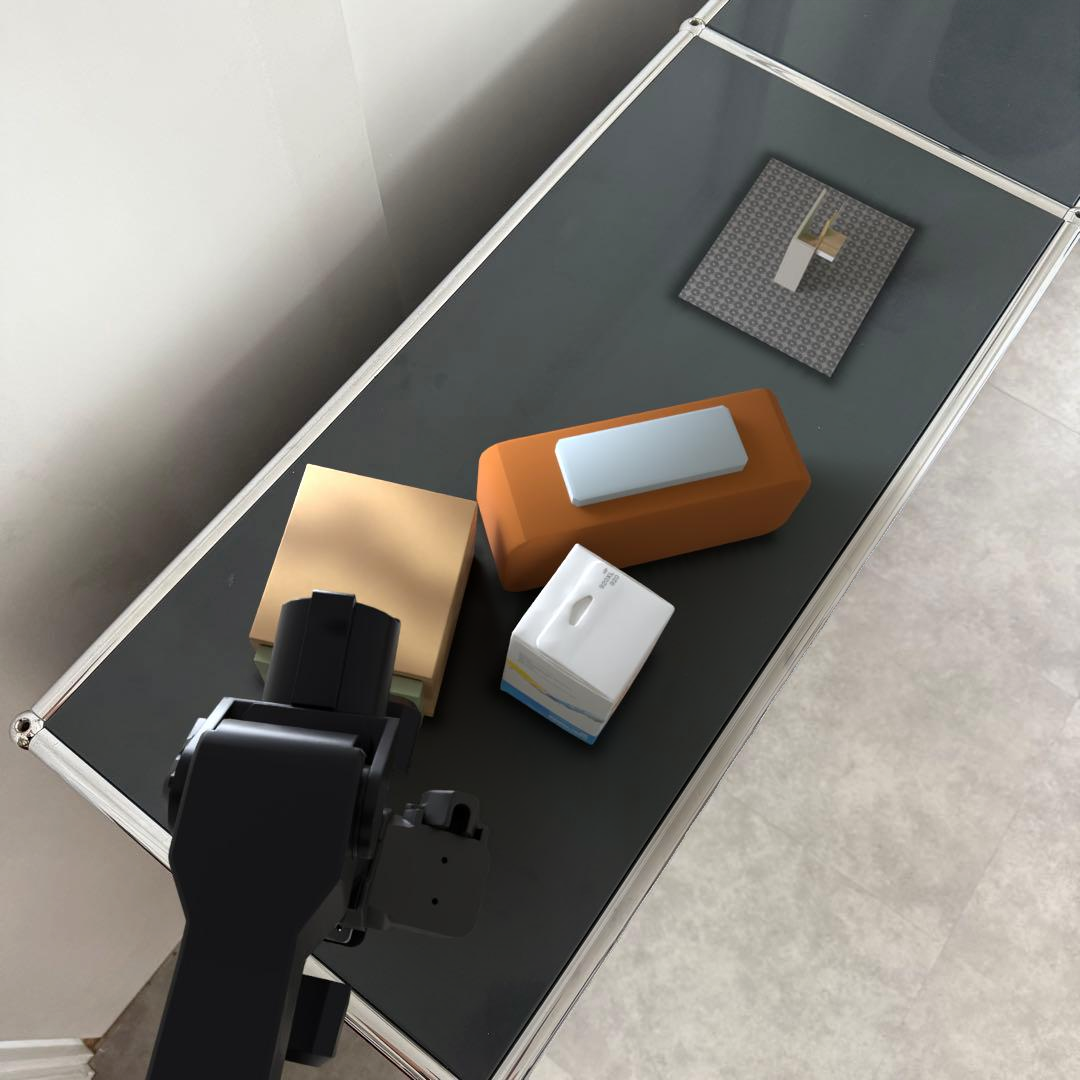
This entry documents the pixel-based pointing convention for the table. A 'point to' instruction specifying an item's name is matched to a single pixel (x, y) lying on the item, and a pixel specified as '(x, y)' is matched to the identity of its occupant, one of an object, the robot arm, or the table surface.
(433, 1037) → the table surface
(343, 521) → the cabinet
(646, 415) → the alarm clock
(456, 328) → the table surface
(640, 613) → the ink box
